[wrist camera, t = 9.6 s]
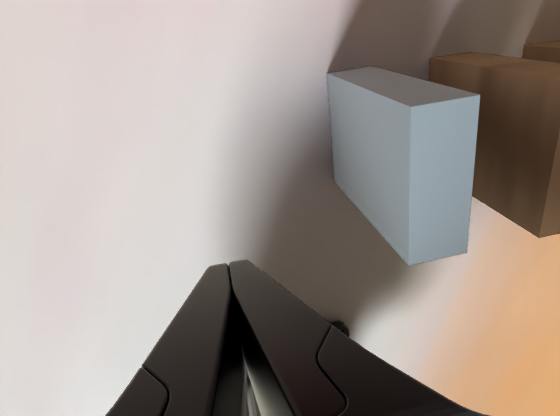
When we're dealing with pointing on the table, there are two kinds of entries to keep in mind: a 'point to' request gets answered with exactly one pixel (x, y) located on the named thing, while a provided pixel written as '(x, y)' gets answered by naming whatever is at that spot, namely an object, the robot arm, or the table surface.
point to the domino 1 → (405, 157)
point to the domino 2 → (512, 134)
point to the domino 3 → (543, 51)
